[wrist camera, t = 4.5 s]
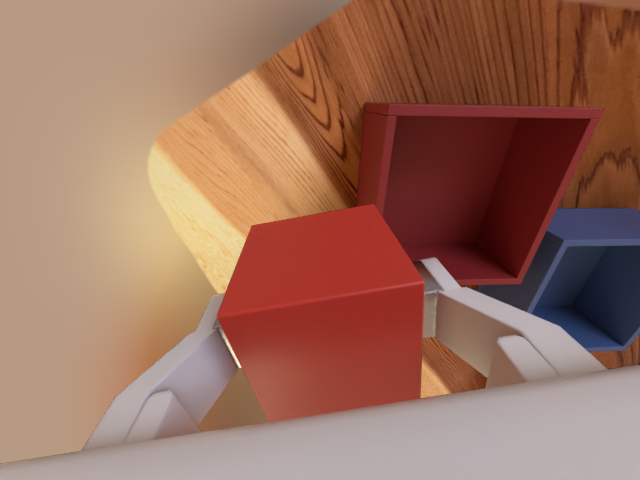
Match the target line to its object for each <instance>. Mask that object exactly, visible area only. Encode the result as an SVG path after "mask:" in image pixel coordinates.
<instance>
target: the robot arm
mask: <svg viewBox="0 0 640 480" xmlns="http://www.w3.org/2000/svg"><path fill="white" fill-rule="evenodd" d="M412 263H413V264H414V266H415V268H416V269H417V271H418V272H419V274H420V275H421V277H422V278H423V280H424V282H425V291H424V316H423V338H427V337H434V336H435V338H436V339H437V340H438V341H439V342H441V343H442V344H443V345H445V346H446V347H447V348H449V349H450V350H451V351H453V352H454V353H455V354H456V355H458V356H459V357H460V358H462V359H463V360H464V361H466V362H467V363H468V364H470V365H471V366H472V367H473V368H475V369H476V370H477V371H479V372H480V373H481V374H483V375H484V376H485V377H487V378H488V379H487V383H486V387H485V389H478V390H472V391H465V392H459V393H453V394H446V395H440V396H433V397H427V398H420V399H414V400H408V401H401V402H395V403H388V404H382V405H376V406H369V407H363V408H356V409H350V410H343V411H337V412H330V413H324V414H317V415H311V416H304V417H298V418H291V419H285V420H278V421H272V422H266V423H259V424H253V425H246V426H240V427H233V428H227V429H220V430H214V431H208V432H203V431H202V430H201V429H200V428H199V426H198V425H199V424H200V423H201V421H202V420H203V418H204V417H205V415H206V414H207V413H208V411H209V410H210V408H211V407H212V406H213V404H214V403H215V401H216V400H217V399H218V397H219V396H220V394H221V393H222V392H223V390H224V389H225V387H226V386H227V385H228V383H229V382H230V380H231V379H232V378H233V376H234V375H235V373H236V372H237V371H238V369H237V368H241V366H240V364H239V362H238V360H237V358H236V356H235V354H234V352H233V350H232V348H231V346H230V344H229V342H228V340H227V338H226V336H225V334H224V332H223V330H222V328H221V326H220V324H219V322H218V320H217V313H218V311H219V308H220V305H221V303H222V300H223V298H224V295H225V293H223V294H217V295H214V296H212V297H211V298H210V300H209V303H208V305H207V307H206V309H205V311H204V313H203V316H202V318H201V320H200V322H199V324H198V326H197V329H196V331H195V332H193V333H190V334H189V335H187V336H186V337H185V338H184V339H183V340H182V341H180V342H179V343H178V344H177V345H176V346H174V347H173V348H172V349H171V350H170V351H168V353H166V354H165V355H164V356H163V357H161V358H160V359H159V360H158V361H157V362H156V363H154V364H153V365H152V366H151V367H150V368H149V369H147V370H146V371H145V372H144V373H143V374H141V375H140V376H139V377H138V378H137V379H136V380H134V381H133V382H132V383H131V384H130V385H129V386H127V387H126V388H125V389H124V390H123V391H122V392H120V393H119V394H118V395H117V396H116V397H115V398H114V399H113V401H112V402H111V404H110V406H109V407H108V409H107V411H106V412H105V414H104V415H103V417H102V418H101V420H100V422H99V423H98V425H97V426H96V428H95V430H94V431H93V433H92V434H91V436H90V438H89V439H88V441H87V442H86V444H85V446H84V447H83V449H82V450H81V451H78V452H71V453H65V454H58V455H52V456H46V457H40V458H33V459H26V460H20V461H14V462H7V463H0V480H640V365H633V366H627V367H620V368H614V369H607V368H606V367H605V366H603V365H602V364H601V363H600V362H599V361H598V360H597V359H596V358H595V357H593V356H592V355H591V354H590V353H589V352H588V351H587V350H586V349H585V348H583V347H582V346H581V345H580V344H579V343H578V342H577V341H576V340H575V339H573V338H572V337H571V336H570V335H569V334H568V333H567V332H566V331H565V330H563V329H562V328H561V327H560V326H558V325H556V324H553V323H551V322H548V321H546V320H544V319H541V318H539V317H537V316H534V315H532V314H529V313H527V312H525V311H522V310H520V309H518V308H515V307H513V306H510V305H508V304H506V303H503V302H501V301H499V300H496V299H494V298H491V297H489V296H487V295H484V294H482V293H479V292H477V291H475V290H472V289H470V288H468V287H462V288H461V287H460V285H459V284H458V283H457V282H456V281H455V280H454V278H453V277H452V276H451V275H450V274H449V272H448V271H447V270H446V269H445V268H444V266H443V265H442V264H441V263H440V262H439V260H438V259H437V258H435V257H432V258H427V259H422V260H419V261H414V262H412Z"/></svg>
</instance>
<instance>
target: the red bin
mask: <svg viewBox="0 0 640 480" xmlns="http://www.w3.org/2000/svg"><path fill="white" fill-rule="evenodd" d="M604 109H605V108H587V107H556V106H525V105H473V104H420V103H367V102H366V103H365V109H364V120H363V132H362V143H361V154H360V166H359V177H358V188H357V200H356V207H359V206H364V205H370V204H374V205H375V206H376V208H377V209H378V211H379V212H380V214H381V216H382V217H383V219H384V220H385V222H386V223H387V225H388V226H389V228H390V229H391V231H392V232H393V234H394V235H395V237H396V238H397V240H398V242H399V243H400V245H401V246H402V248H403V249H404V251H405V252H406V254H407V255H408V257H409V258H410V260H411V261H412V262H414V261H419V260H422V259H427V258H432V257H435V258H437V259H438V260H439V262H440V263H441V264H442V265H443V266H444V268H445V269H446V270H447V271H448V272H449V274H450V275H451V276H452V277H453V278H454V280H455V281H456V282H457V283H458V284H459V285H504V284H521V283H522V280H523V278H524V276H525V274H526V272H527V270H528V268H529V266H530V264H531V262H532V260H533V258H534V255H535V253H536V251H537V249H538V247H539V245H540V243H541V241H542V239H543V237H544V235H545V233H546V230H547V228H548V226H549V224H550V222H551V220H552V218H553V216H554V214H555V212H556V210H557V208H558V205H559V203H560V201H561V199H562V197H563V195H564V193H565V191H566V189H567V187H568V185H569V182H570V180H571V178H572V176H573V174H574V172H575V170H576V168H577V166H578V164H579V162H580V160H581V157H582V155H583V153H584V151H585V149H586V147H587V145H588V143H589V141H590V139H591V137H592V134H593V132H594V130H595V128H596V126H597V124H598V122H599V119H600V118H601V116H602V114H603V111H604Z"/></svg>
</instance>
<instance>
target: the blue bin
mask: <svg viewBox="0 0 640 480" xmlns="http://www.w3.org/2000/svg"><path fill="white" fill-rule="evenodd" d="M476 291H477V292H479V293H482V294H484V295H487V296H489V297H491V298H494V299H496V300H499V301H501V302H503V303H506V304H508V305H510V306H513V307H515V308H518V309H520V310H522V311H525V312H527V313H529V314H532V315H534V316H537V317H539V318H541V319H544V320H546V321H548V322H551V323H553V324H556V325H558V326H560V327H561V328H562V329H563V330H565V331H566V332H567V333H568V334H569V335H570V336H571V337H572V338H573V339H575V340H576V341H577V342H578V343H579V344H580V345H581V346H582V347H583V348H585V349H586V350H587V351H588V352H593V351H619V350H626V349H627V348H628V346H629V345H630V344H631V343H632V342H633V341H634V340H635V338H636V337H637V336H638V335H639V334H640V211H638V210H635V209H632V208H572V209H557V210H556V212H555V214H554V216H553V218H552V220H551V222H550V224H549V226H548V228H547V230H546V233H545V235H544V237H543V239H542V241H541V243H540V245H539V247H538V249H537V251H536V253H535V255H534V258H533V260H532V262H531V264H530V266H529V268H528V270H527V272H526V274H525V276H524V278H523V280H522V283H521V284H504V285H477V288H476Z"/></svg>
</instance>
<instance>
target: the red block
mask: <svg viewBox="0 0 640 480" xmlns="http://www.w3.org/2000/svg"><path fill="white" fill-rule="evenodd" d="M424 291H425V282H424V280H423V278H422V277H421V275H420V274H419V272H418V271H417V269H416V268H415V266H414V264H413V263H412V261H411V260H410V258H409V257H408V255H407V254H406V252H405V251H404V249H403V248H402V246H401V245H400V243H399V242H398V240H397V238H396V237H395V235H394V234H393V232H392V231H391V229H390V228H389V226H388V225H387V223H386V222H385V220H384V219H383V217H382V216H381V214H380V212H379V211H378V209H377V208H376V206H375V205H374V204H370V205H364V206H359V207H353V208H348V209H342V210H336V211H331V212H325V213H319V214H314V215H308V216H303V217H297V218H291V219H286V220H280V221H274V222H269V223H263V224H257V225H253V226H251V229H250V231H249V234H248V236H247V239H246V242H245V244H244V247H243V249H242V252H241V254H240V257H239V259H238V262H237V265H236V267H235V270H234V272H233V275H232V277H231V280H230V282H229V285H228V288H227V290H226V293H225V295H224V298H223V300H222V303H221V305H220V308H219V311H218V313H217V320H218V322H219V324H220V326H221V328H222V330H223V332H224V334H225V336H226V338H227V340H228V342H229V344H230V346H231V348H232V350H233V352H234V354H235V356H236V358H237V360H238V362H239V364H240V366H241V368H242V369H243V371H244V373H245V375H246V377H247V379H248V381H249V383H250V385H251V387H252V389H253V391H254V393H255V395H256V397H257V399H258V401H259V403H260V405H261V407H262V409H263V411H264V413H265V415H266V417H267V419H268V421H269V422H272V421H278V420H285V419H291V418H298V417H304V416H311V415H317V414H324V413H330V412H337V411H343V410H350V409H356V408H363V407H369V406H376V405H382V404H388V403H395V402H401V401H408V400H414V399H420V393H421V367H422V342H423V316H424Z"/></svg>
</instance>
